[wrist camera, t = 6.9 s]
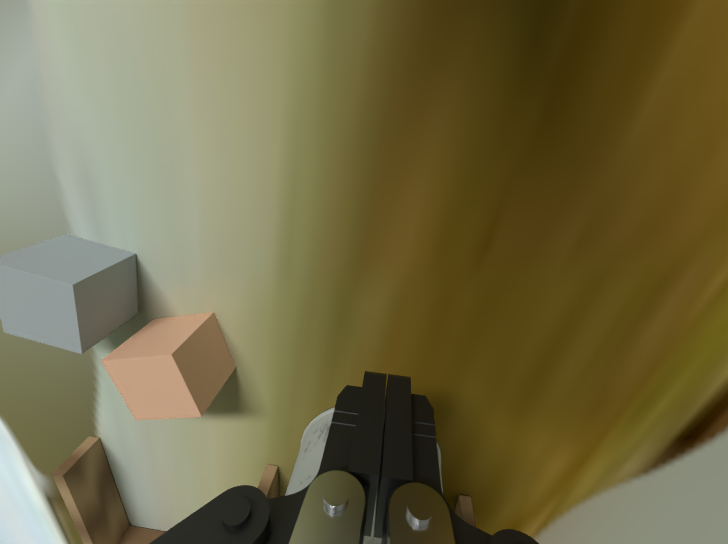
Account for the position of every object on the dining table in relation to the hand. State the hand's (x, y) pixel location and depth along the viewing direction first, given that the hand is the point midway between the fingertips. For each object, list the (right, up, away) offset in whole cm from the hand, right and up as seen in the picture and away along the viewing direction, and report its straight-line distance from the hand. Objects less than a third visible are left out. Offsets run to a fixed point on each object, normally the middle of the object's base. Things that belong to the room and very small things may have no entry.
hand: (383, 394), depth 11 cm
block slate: (-16, +4, +8) cm, 18 cm away
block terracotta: (-11, 0, +10) cm, 15 cm away
